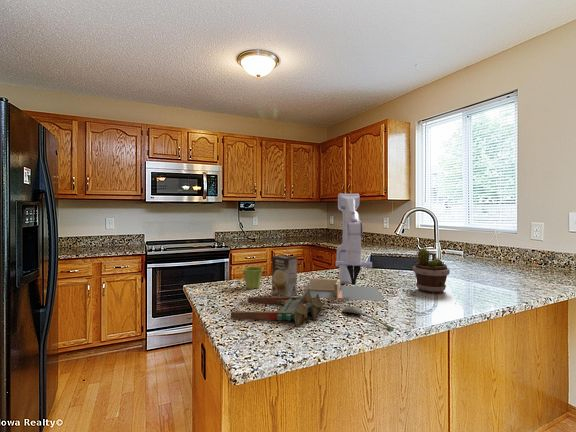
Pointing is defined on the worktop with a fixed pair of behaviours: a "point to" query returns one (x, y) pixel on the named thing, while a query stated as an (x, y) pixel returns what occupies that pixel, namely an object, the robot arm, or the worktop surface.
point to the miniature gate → (284, 308)
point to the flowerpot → (430, 273)
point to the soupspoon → (359, 311)
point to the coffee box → (284, 275)
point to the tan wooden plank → (337, 288)
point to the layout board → (341, 290)
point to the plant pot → (252, 277)
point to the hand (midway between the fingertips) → (353, 284)
